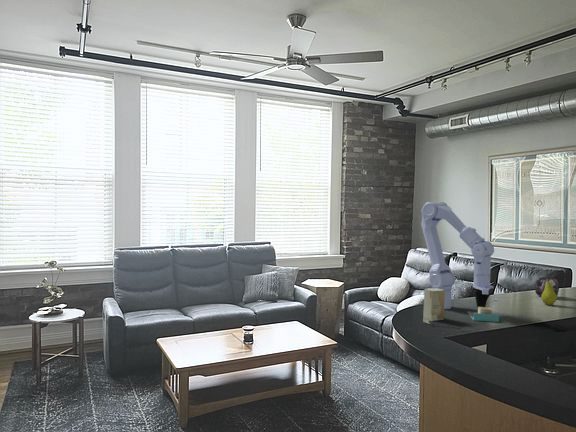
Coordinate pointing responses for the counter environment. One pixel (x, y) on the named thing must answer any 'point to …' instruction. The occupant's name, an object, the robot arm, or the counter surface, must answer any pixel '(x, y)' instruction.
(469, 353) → the counter surface
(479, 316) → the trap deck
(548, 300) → the fruit
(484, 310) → the maple block
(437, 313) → the skincare box
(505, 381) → the counter surface
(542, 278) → the mineral specimen
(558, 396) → the counter surface
